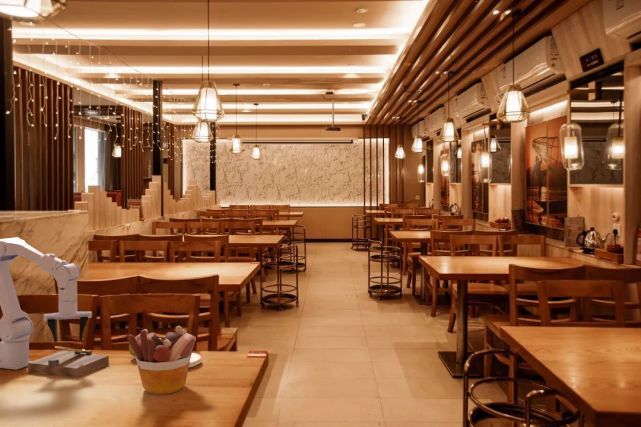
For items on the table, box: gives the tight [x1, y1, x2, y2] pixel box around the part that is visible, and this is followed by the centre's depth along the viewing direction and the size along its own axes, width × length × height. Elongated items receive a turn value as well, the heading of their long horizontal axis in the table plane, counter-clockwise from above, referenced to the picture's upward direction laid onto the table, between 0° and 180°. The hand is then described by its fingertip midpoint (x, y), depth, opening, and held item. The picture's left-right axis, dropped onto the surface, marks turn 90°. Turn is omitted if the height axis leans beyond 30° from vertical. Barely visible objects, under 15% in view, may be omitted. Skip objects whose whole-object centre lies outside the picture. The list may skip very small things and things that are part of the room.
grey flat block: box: [27, 349, 110, 379], centre depth 189 cm, size 20×15×5 cm
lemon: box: [128, 335, 138, 357], centre depth 200 cm, size 6×6×8 cm
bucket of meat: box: [126, 325, 197, 396], centre depth 167 cm, size 20×16×20 cm
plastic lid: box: [189, 352, 202, 368], centre depth 192 cm, size 14×14×2 cm
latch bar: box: [54, 345, 87, 353], centre depth 190 cm, size 3×12×1 cm, turn 161°
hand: (68, 340), depth 187 cm, fingers open, 7 cm apart
